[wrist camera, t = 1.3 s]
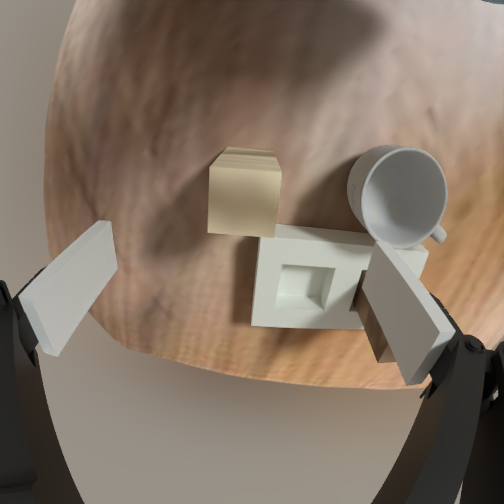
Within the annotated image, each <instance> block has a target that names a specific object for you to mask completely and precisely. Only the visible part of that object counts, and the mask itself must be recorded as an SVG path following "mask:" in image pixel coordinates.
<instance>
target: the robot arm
mask: <svg viewBox="0 0 504 504" xmlns="http://www.w3.org/2000/svg"><path fill="white" fill-rule="evenodd" d="M482 1H485V2H490V3H493V4H504V0H482ZM117 269H118V266H117V260H116V254H115V248H114V241H113V234H112V226H111V221H100V220H98V221H97V222H96V223H95V224H94V225H92V226H91V227H90V228H89V229H88V230H86V231H85V232H84V233H83V234H82V235H81V236H80V237H78V238H77V239H76V240H75V241H74V242H73V243H72V244H71V245H69V246H68V247H67V248H66V249H65V250H64V251H63V252H62V253H61V254H60V255H59V256H58V257H56V258H55V259H54V260H53V261H52V262H51V263H50V264H49V265H48V266H46V267H44V268H43V269H41V270H40V271H39V272H38V273H37V274H36V275H35V276H34V278H32V279H31V280H30V281H29V283H27V284H26V285H25V286H24V287H23V288H22V289H21V290H20V291H19V292H18V294H16V296H15V297H14V298H13V299H12V298H11V296H10V293H9V291H8V288H7V285H6V283H5V282H4V281H3V280H0V504H84V502H83V500H82V498H81V496H80V494H79V492H78V490H77V487H76V485H75V483H74V481H73V479H72V476H71V474H70V471H69V469H68V466H67V464H66V461H65V458H64V456H63V454H62V450H61V447H60V445H59V442H58V439H57V435H56V432H55V429H54V426H53V422H52V419H51V415H50V412H49V408H48V404H47V400H46V395H45V391H44V387H43V382H42V377H41V371H40V366H39V360H38V354H37V352H36V350H35V347H36V345H37V344H38V342H39V344H40V346H41V348H42V350H43V352H44V353H46V354H49V355H52V356H55V357H59V354H60V353H61V351H62V350H63V348H64V347H65V345H66V343H67V342H68V340H69V339H70V337H71V335H72V334H73V332H74V331H75V329H76V328H77V326H78V325H79V323H80V322H81V320H82V318H83V317H84V315H85V314H86V313H87V311H88V310H89V308H90V307H91V305H92V304H93V302H94V301H95V300H96V298H97V297H98V295H99V294H100V292H101V291H102V290H103V288H104V287H105V285H106V284H107V283H108V281H109V280H110V279H111V277H112V276H113V275H114V273H115V272H116V271H117ZM362 289H363V291H364V293H365V295H366V297H367V299H368V301H369V303H370V305H371V307H372V309H373V311H374V313H375V315H376V318H377V320H378V322H379V324H380V326H381V328H382V330H383V332H384V335H385V337H386V339H387V341H388V343H389V346H390V348H391V350H392V352H393V355H394V357H395V359H396V362H397V364H398V366H399V369H400V371H401V374H402V376H403V378H404V381H405V383H406V386H408V385H414V384H420V383H422V382H423V381H424V379H425V378H426V377H427V375H428V374H429V373H430V375H431V378H432V381H431V382H430V384H429V385H428V386H427V388H426V389H425V390H424V391H423V393H422V394H421V395H420V398H422V397H423V396H424V395H425V396H424V399H423V402H422V404H421V407H420V410H419V412H418V415H417V417H416V419H415V422H414V424H413V426H412V429H411V431H410V433H409V435H408V438H407V440H406V442H405V444H404V446H403V448H402V450H401V452H400V455H399V456H398V458H397V460H396V462H395V464H394V466H393V468H392V470H391V471H390V473H389V475H388V477H387V479H386V481H385V482H384V484H383V486H382V487H381V489H380V490H379V492H378V494H377V495H376V497H375V498H374V500H373V502H372V503H371V504H454V503H455V500H456V498H457V495H458V492H459V489H460V487H461V484H462V481H463V485H462V491H461V498H460V504H504V341H503V342H500V344H499V345H498V346H497V348H496V349H495V351H493V350H487V349H485V347H484V345H483V343H482V342H481V341H480V340H479V339H477V338H476V337H474V336H472V335H464V334H463V333H462V331H461V330H460V328H459V327H458V326H457V324H456V323H455V321H454V320H453V318H452V317H451V316H450V315H449V313H448V311H447V310H446V309H444V308H445V307H444V306H443V305H442V303H441V302H440V300H439V299H437V298H436V297H435V296H434V295H433V294H431V293H429V292H428V291H427V290H426V288H425V287H424V286H423V285H422V283H421V282H420V281H419V279H418V278H417V277H416V275H415V274H414V273H413V272H412V270H411V269H410V268H409V267H408V265H407V264H406V263H405V262H404V260H403V259H402V258H401V257H400V256H399V254H398V253H397V252H396V251H395V250H394V248H393V247H392V246H391V245H390V244H389V243H388V242H380V241H375V244H374V248H373V252H372V255H371V259H370V262H369V265H368V269H367V272H366V275H365V279H364V282H363V285H362ZM497 390H498V397H497V398H496V399H495V400H494V399H493V394H494V393H495V392H496V391H497Z"/></svg>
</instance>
